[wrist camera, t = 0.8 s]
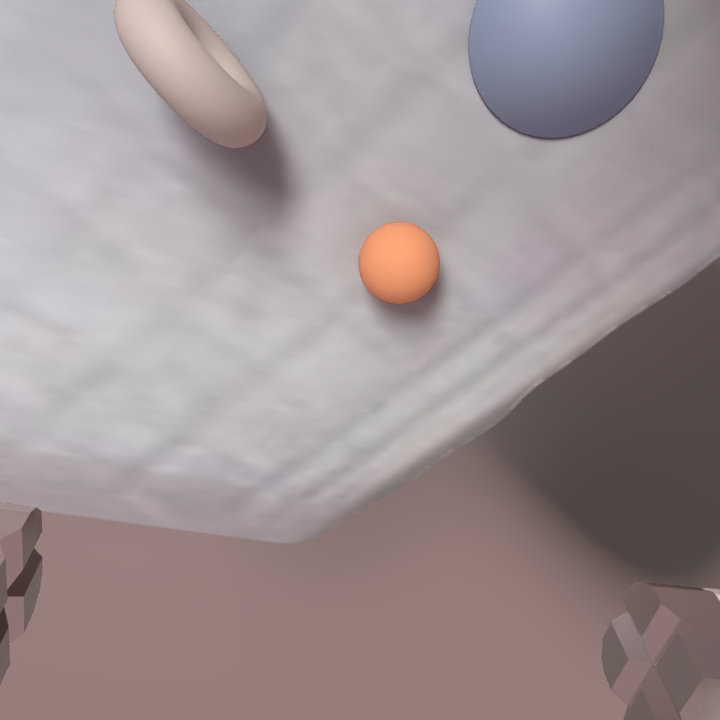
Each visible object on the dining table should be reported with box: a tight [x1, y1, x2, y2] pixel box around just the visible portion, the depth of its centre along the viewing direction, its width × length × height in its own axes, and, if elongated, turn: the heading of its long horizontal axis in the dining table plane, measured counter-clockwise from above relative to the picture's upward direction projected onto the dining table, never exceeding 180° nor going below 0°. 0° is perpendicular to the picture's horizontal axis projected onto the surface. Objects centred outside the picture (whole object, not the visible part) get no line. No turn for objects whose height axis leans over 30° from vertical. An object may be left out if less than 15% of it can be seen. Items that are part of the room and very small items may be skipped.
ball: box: [358, 222, 440, 304], centre depth 46 cm, size 6×6×6 cm
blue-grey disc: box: [469, 0, 664, 138], centre depth 42 cm, size 12×12×1 cm
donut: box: [114, 0, 267, 148], centre depth 38 cm, size 10×4×10 cm, turn 39°
